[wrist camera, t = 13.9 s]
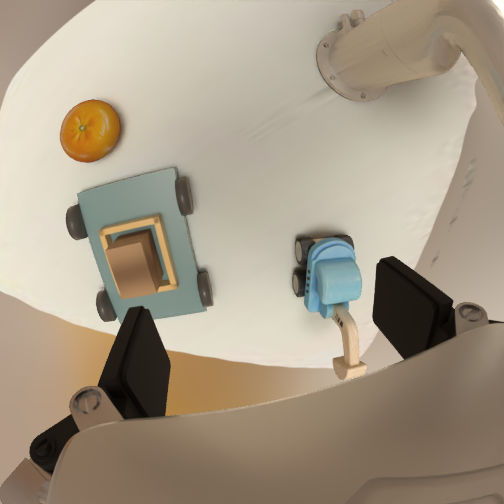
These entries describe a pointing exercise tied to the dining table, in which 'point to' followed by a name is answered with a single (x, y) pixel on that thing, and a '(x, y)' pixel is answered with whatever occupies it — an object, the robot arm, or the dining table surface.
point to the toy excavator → (332, 292)
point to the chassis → (164, 233)
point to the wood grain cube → (135, 264)
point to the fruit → (89, 131)
